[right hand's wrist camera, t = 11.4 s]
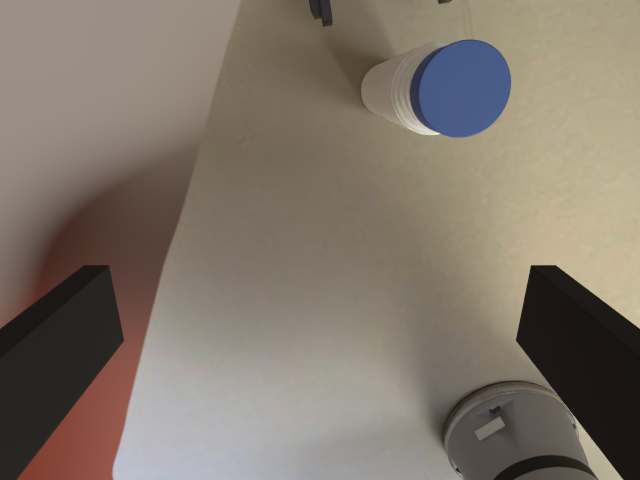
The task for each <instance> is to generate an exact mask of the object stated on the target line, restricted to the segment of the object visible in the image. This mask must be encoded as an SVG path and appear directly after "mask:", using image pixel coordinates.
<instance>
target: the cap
mask: <svg viewBox="0 0 640 480" xmlns="http://www.w3.org/2000/svg"><path fill="white" fill-rule="evenodd" d="M510 89H511V77H510V71H509V68H508V65H507V63H506V61H505V59H504V57H503V56H502V55H501V53H500V52H499V51H498V50H497V49H495V48H494V47H493V46H491V45H489V44H487V43H485V42H482V41H478V40H462V41H458V42H455V43H452V44H449V45H446V46H443V47H441V48H438V49H436V50H435V51H433V52H431V53H430V54H429V55H427V56H426V57H425V58H424V59H423V60H422V62H421V63H420V64H419V66H418V67H417V69H416V71H415V73H414V75H413V78H412V80H411V85H410V103H411V107H412V110H413V112H414V114H415V116H416V117H417V119H418V120H419V121H420V122H421V123H422V124H423V125H424V126H425V127H427V128H428V129H430V130H433V131H435V132H438V133H440V134H443V135H446V136H449V137H459V138H461V137H468V136H472V135H475V134H478V133H480V132H482V131H483V130H485V129H486V128H488V127H489V126H490V125H492V124H493V123H494V122H495V121H496V120H497V118H498V117H499V116H500V114H501V113H502V111H503V110H504V108H505V106H506V104H507V101H508V98H509V94H510Z"/></svg>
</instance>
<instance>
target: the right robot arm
mask: <svg viewBox="0 0 640 480" xmlns="http://www.w3.org/2000/svg"><path fill="white" fill-rule="evenodd" d="M123 341H124V338H123V333H122V328H121V323H120V318H119V313H118V308H117V303H116V298H115V293H114V288H113V283H112V278H111V273H110V269H109V266H108V265H84V266H83V267H81V268H80V269H79V270H78V271H76V272H75V273H74V274H72V275H71V276H70V277H68V278H67V279H66V280H64V281H63V282H62V283H60V284H59V285H58V286H56V287H55V288H54V289H52V290H51V291H50V292H48V293H47V294H46V295H45V296H43V297H42V298H40V299H39V300H38V301H37V302H35V303H34V304H33V305H31V306H30V307H29V308H27V309H26V310H25V311H23V312H22V313H21V314H19V315H18V316H17V317H15V318H14V319H13V320H11V321H10V322H9V323H7V324H6V325H5V326H4V327H2V328H1V329H0V480H17V478H18V477H19V476H20V475H21V473H22V472H23V471H24V469H25V468H26V467H27V466H28V464H29V463H30V462H31V460H32V459H33V458H34V456H35V455H36V454H37V453H38V451H39V450H40V449H41V447H42V446H43V445H44V444H45V442H46V441H47V440H48V438H49V437H50V436H51V434H52V433H53V432H54V431H55V429H56V428H57V427H58V425H59V424H60V423H61V421H62V420H63V419H64V418H65V416H66V415H67V414H68V412H69V411H70V410H71V409H72V407H73V406H74V405H75V403H76V402H77V401H78V399H79V398H80V397H81V396H82V394H83V393H84V392H85V390H86V389H87V388H88V387H89V385H90V384H91V383H92V381H93V380H94V379H95V377H96V376H97V375H98V374H99V372H100V371H101V370H102V368H103V367H104V366H105V365H106V363H107V362H108V361H109V359H110V358H111V357H112V355H113V354H114V353H115V352H116V350H117V349H118V348H119V346H120V345H121V344H122V343H123ZM516 341H517V343H518V344H519V345H520V346H521V348H522V349H523V350H524V352H525V353H526V354H527V356H528V357H529V358H530V359H531V361H532V362H533V363H534V365H535V366H536V367H537V368H538V370H539V371H540V372H541V374H542V375H543V376H544V378H545V379H546V380H547V381H548V383H549V384H550V385H551V387H552V388H553V389H554V390H555V392H556V393H557V394H558V396H559V397H560V398H561V400H562V401H563V402H564V403H565V405H566V406H567V407H568V409H569V410H570V411H571V412H572V414H573V415H574V416H575V418H576V419H577V420H578V422H579V423H580V424H581V425H582V427H583V428H584V429H585V431H586V432H587V433H588V434H589V436H590V437H591V438H592V440H593V441H594V442H595V444H596V445H597V446H598V447H599V449H600V450H601V451H602V453H603V454H604V455H605V456H606V458H607V459H608V460H609V462H610V463H611V464H612V466H613V467H614V468H615V469H616V471H617V472H618V473H619V475H620V476H621V477H622V478H623V480H640V329H639V328H638V327H637V326H635V325H634V324H633V323H631V322H630V321H629V320H627V319H626V318H625V317H623V316H622V315H621V314H619V313H618V312H617V311H615V310H614V309H613V308H611V307H610V306H609V305H607V304H606V303H605V302H603V301H602V300H601V299H600V298H598V297H597V296H596V295H594V294H593V293H592V292H590V291H589V290H588V289H586V288H585V287H584V286H582V285H581V284H580V283H578V282H577V281H576V280H574V279H573V278H572V277H570V276H569V275H568V274H566V273H565V272H564V271H563V270H561V269H560V268H559V267H557V266H556V265H531V269H530V273H529V278H528V283H527V288H526V293H525V298H524V303H523V308H522V313H521V318H520V323H519V328H518V333H517V338H516ZM561 400H560V399H559V398H558V397H557V396H556V395H555V394H554V393H552V392H551V391H550V390H548V389H546V388H544V387H541V386H539V385H535V384H531V383H525V382H506V383H500V384H495V385H492V386H488V387H486V388H483V389H481V390H479V391H477V392H475V393H473V394H471V395H470V396H468V397H467V398H466V399H464V400H463V401H462V402H461V403H460V404H459V405H458V406H457V407H456V408H455V409H454V410H453V412H452V413H451V414H450V416H449V418H448V420H447V422H446V425H445V428H444V433H443V441H444V446H445V449H446V452H447V455H448V458H449V461H450V463H451V465H452V467H453V469H454V470H455V471H456V472H457V474H458V475H459V476H460V477H461V478H462V479H463V480H598V479H597V477H596V476H595V474H594V473H593V472H592V470H591V469H590V467H589V465H588V461H587V458H586V455H585V453H584V450H583V448H582V446H581V444H580V441H579V434H578V429H577V426H576V423H575V420H574V418H573V416H572V414H571V413H570V411H569V410H568V409H567V408H566V406H565V405H564V404H563V402H562V401H561Z"/></svg>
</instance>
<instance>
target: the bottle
mask: <svg viewBox="0 0 640 480" xmlns="http://www.w3.org/2000/svg"><path fill="white" fill-rule="evenodd" d="M446 45H449V43H444V42H434V43H428V44H425V45H422V46H420V47H418V48H415V49H413V50H411V51H408V52H406V53H404V54H401V55H399V56H397V57H394V58H392V59H390V60H388V61H385V62H383V63H381V64H378V65H376V66H374V67H373V68H371V69H370V70H369V71H368V72H367V74H366V75H365V77H364V79H363V81H362V84H361V97H362V100H363V103H364V104H365V106H366V107H367V108H368V110H370V111H371V112H372V113H374V114H376V115H379V116H381V117H383V118H385V119H387V120H390V121H392V122H394V123H396V124H399V125H401V126H403V127H405V128H407V129H410V130H412V131H414V132H416V133H420V134H424V135H437V134H440V133H438V132H435V131H433V130H430V129H428V128H427V127H425V126H424V125H423V124H422V123H421V122H420V121H419V120H418V119H417V117H416V116H415V114H414V112H413V110H412V107H411V103H410V85H411V80H412V78H413V75H414V73H415V71H416V69H417V67H418V66H419V64H420V63H421V62H422V60H423V59H424V58H425V57H426V56H427V55H429V54H430V53H431V52H433V51H435V50H436V49H438V48H441V47H443V46H446Z"/></svg>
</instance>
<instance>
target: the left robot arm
mask: <svg viewBox="0 0 640 480" xmlns="http://www.w3.org/2000/svg"><path fill="white" fill-rule="evenodd" d="M450 1H452V0H438V3H439V4H442V3H448V2H450ZM309 3H310V9H311V13H312V15H313V17H314V19H319V18H322V24H323V27H325V26H330V25H332V14H331V7H330V0H309Z"/></svg>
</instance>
